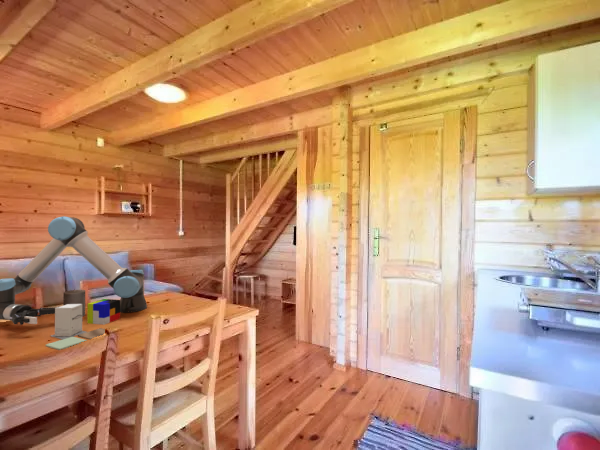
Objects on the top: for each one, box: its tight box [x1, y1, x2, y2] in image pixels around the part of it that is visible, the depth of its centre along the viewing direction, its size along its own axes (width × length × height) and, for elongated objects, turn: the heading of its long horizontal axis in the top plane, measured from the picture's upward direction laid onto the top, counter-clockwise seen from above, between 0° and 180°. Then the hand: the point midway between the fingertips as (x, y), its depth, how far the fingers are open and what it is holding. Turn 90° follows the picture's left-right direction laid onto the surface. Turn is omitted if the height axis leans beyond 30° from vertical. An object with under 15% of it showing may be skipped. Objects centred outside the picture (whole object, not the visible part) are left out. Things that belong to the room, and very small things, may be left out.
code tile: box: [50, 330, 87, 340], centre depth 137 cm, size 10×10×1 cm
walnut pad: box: [77, 327, 106, 340], centre depth 136 cm, size 10×10×1 cm
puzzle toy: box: [86, 298, 121, 325], centre depth 156 cm, size 10×10×10 cm
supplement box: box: [54, 304, 83, 336], centre depth 137 cm, size 7×7×13 cm
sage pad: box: [45, 336, 88, 351], centre depth 125 cm, size 10×10×1 cm
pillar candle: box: [62, 288, 86, 318], centre depth 163 cm, size 10×10×15 cm
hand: (52, 316), depth 139 cm, fingers open, 13 cm apart
